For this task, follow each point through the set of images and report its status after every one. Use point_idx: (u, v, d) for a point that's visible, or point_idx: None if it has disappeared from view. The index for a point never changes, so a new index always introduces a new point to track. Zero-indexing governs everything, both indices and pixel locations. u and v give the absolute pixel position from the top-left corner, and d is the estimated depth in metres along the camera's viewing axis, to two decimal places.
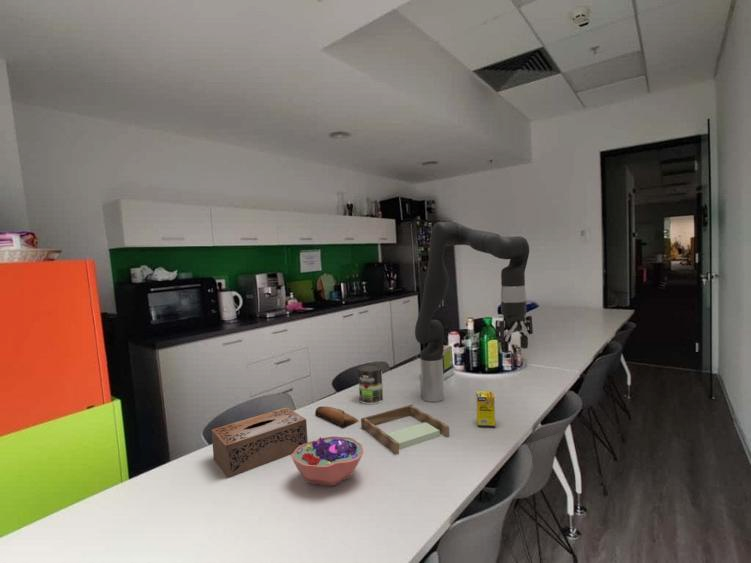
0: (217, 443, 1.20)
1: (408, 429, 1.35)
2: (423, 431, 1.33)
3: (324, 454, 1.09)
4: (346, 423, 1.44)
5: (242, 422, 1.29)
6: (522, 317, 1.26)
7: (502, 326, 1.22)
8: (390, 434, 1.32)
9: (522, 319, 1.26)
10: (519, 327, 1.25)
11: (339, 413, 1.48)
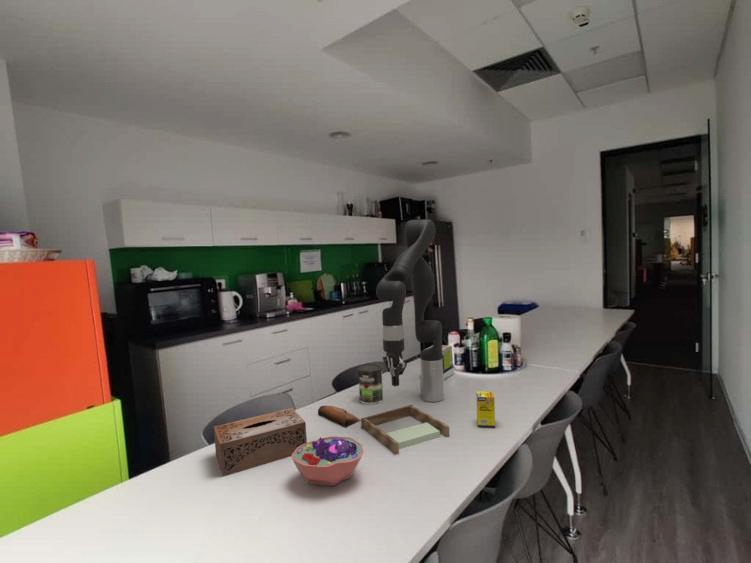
0: (216, 440, 1.22)
1: (408, 429, 1.35)
2: (423, 431, 1.33)
3: (324, 454, 1.09)
4: (348, 422, 1.44)
5: (244, 421, 1.30)
6: None
7: None
8: (390, 433, 1.32)
9: None
10: None
11: (341, 412, 1.48)
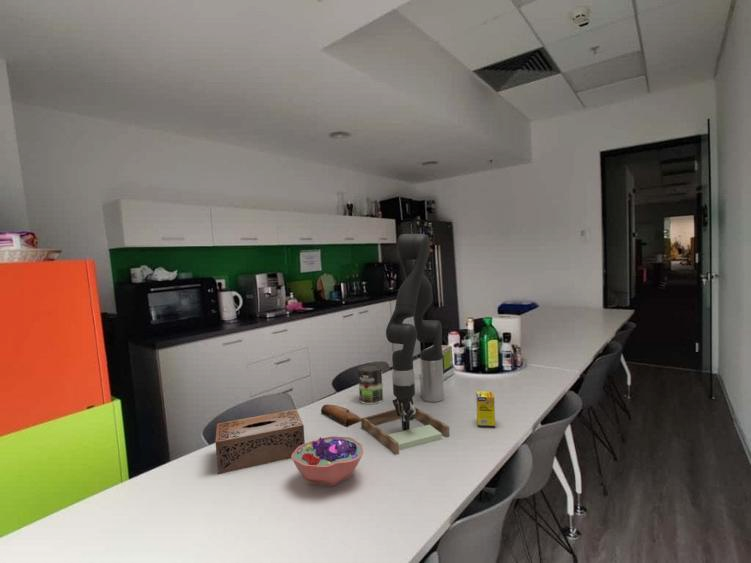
0: None
1: (410, 431, 1.34)
2: (425, 433, 1.31)
3: (324, 454, 1.09)
4: (349, 422, 1.45)
5: (247, 420, 1.31)
6: None
7: None
8: (391, 435, 1.32)
9: None
10: None
11: (343, 412, 1.49)
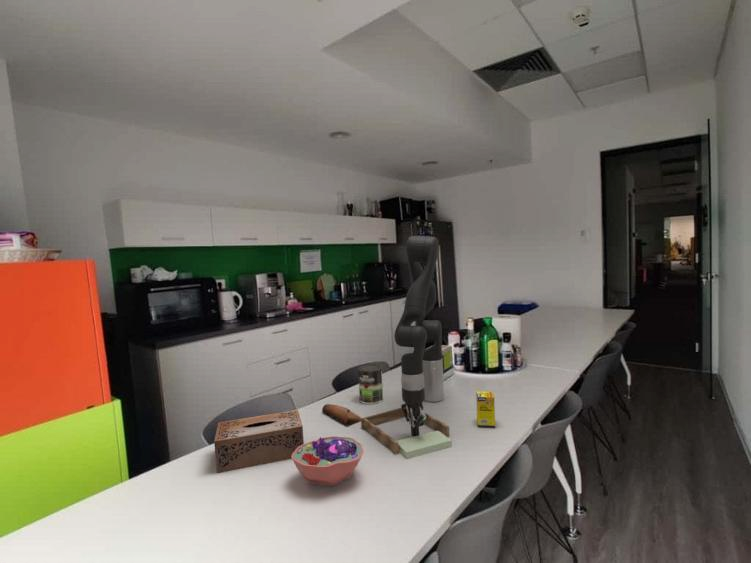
0: None
1: (418, 437, 1.29)
2: (434, 440, 1.26)
3: (324, 454, 1.09)
4: (350, 422, 1.45)
5: (247, 419, 1.31)
6: None
7: None
8: (399, 442, 1.26)
9: None
10: None
11: (344, 411, 1.49)
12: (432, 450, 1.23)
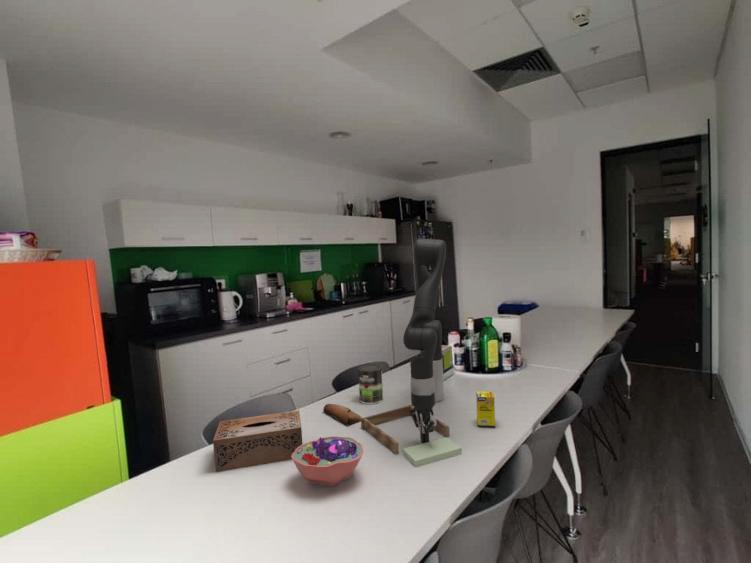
0: None
1: (427, 444, 1.24)
2: (443, 448, 1.21)
3: (324, 454, 1.09)
4: (350, 422, 1.45)
5: (248, 419, 1.31)
6: None
7: None
8: (407, 449, 1.21)
9: None
10: None
11: (344, 411, 1.49)
12: (442, 458, 1.18)
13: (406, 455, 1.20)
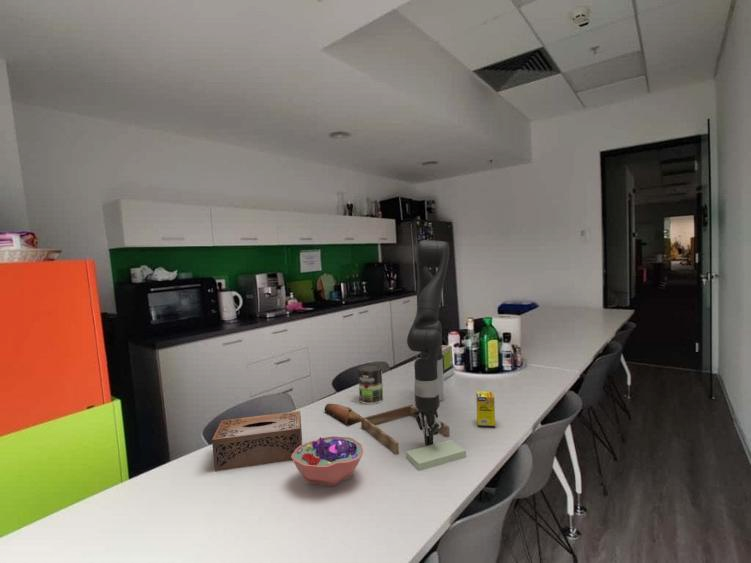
0: None
1: (431, 447, 1.22)
2: (447, 450, 1.19)
3: (324, 454, 1.09)
4: (351, 421, 1.45)
5: (249, 418, 1.32)
6: None
7: None
8: (410, 452, 1.19)
9: None
10: None
11: (345, 411, 1.49)
12: (446, 461, 1.16)
13: (409, 458, 1.18)
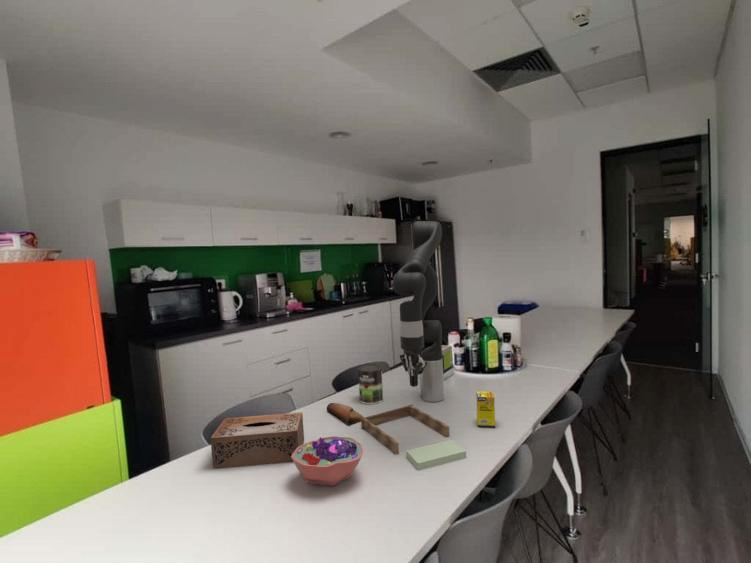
0: None
1: (431, 447, 1.22)
2: (447, 451, 1.19)
3: (324, 454, 1.09)
4: (352, 421, 1.46)
5: (251, 418, 1.32)
6: None
7: None
8: (410, 451, 1.20)
9: None
10: None
11: (347, 410, 1.50)
12: (445, 461, 1.16)
13: (409, 457, 1.19)
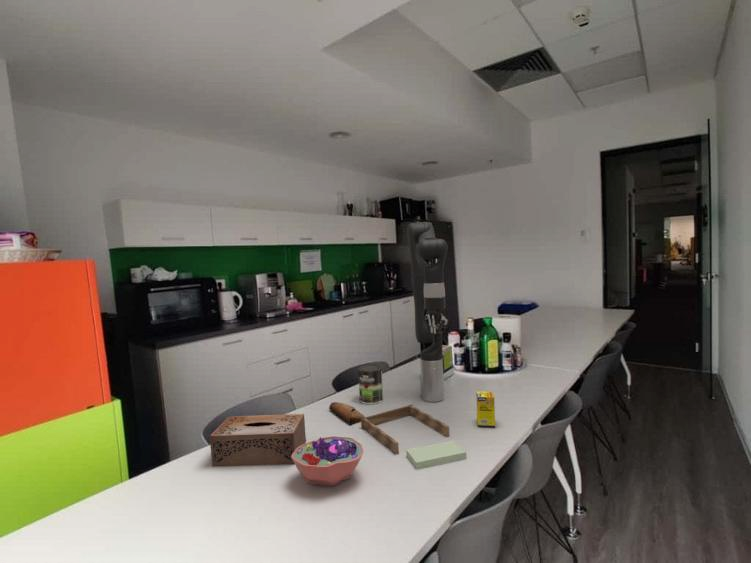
0: None
1: (431, 447, 1.22)
2: (447, 451, 1.19)
3: (324, 454, 1.09)
4: (353, 421, 1.46)
5: (254, 417, 1.32)
6: None
7: None
8: (410, 450, 1.20)
9: None
10: None
11: (348, 410, 1.50)
12: (445, 462, 1.16)
13: (408, 456, 1.19)
